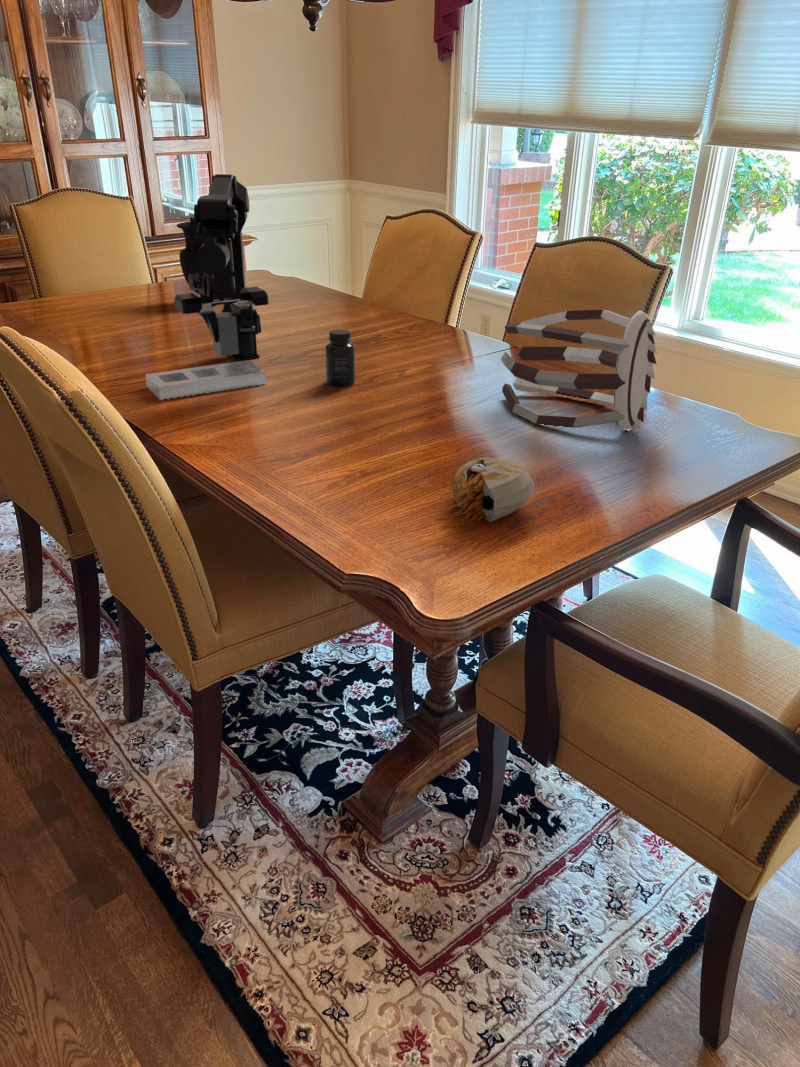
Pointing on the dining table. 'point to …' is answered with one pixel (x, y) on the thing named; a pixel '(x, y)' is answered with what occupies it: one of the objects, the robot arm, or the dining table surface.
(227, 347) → the graphite block
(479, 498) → the nautilus
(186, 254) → the urn
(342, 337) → the supplement bottle
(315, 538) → the dining table surface
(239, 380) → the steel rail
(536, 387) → the decorative basket
